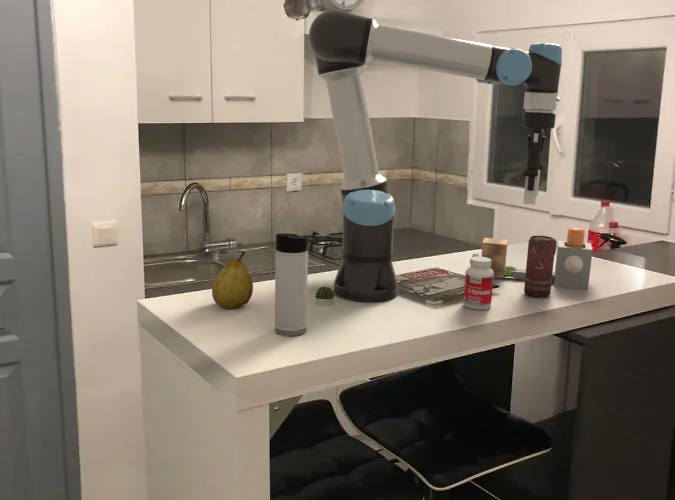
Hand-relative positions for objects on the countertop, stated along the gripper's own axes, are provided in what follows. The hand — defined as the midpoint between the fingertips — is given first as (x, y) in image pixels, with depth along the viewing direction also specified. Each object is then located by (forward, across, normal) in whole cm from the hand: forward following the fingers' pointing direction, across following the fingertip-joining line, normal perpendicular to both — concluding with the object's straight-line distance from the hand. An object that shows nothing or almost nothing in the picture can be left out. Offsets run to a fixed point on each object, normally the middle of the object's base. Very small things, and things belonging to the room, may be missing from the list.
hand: (530, 199), depth 178 cm
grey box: (+21, +6, -12) cm, 25 cm away
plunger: (+14, +5, -12) cm, 19 cm away
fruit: (+22, -44, +59) cm, 77 cm away
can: (+22, -8, -4) cm, 24 cm away
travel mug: (+22, -54, +41) cm, 72 cm away
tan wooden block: (+21, +5, +8) cm, 23 cm away
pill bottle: (+22, -23, +8) cm, 33 cm away
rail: (+21, +5, +2) cm, 22 cm away
